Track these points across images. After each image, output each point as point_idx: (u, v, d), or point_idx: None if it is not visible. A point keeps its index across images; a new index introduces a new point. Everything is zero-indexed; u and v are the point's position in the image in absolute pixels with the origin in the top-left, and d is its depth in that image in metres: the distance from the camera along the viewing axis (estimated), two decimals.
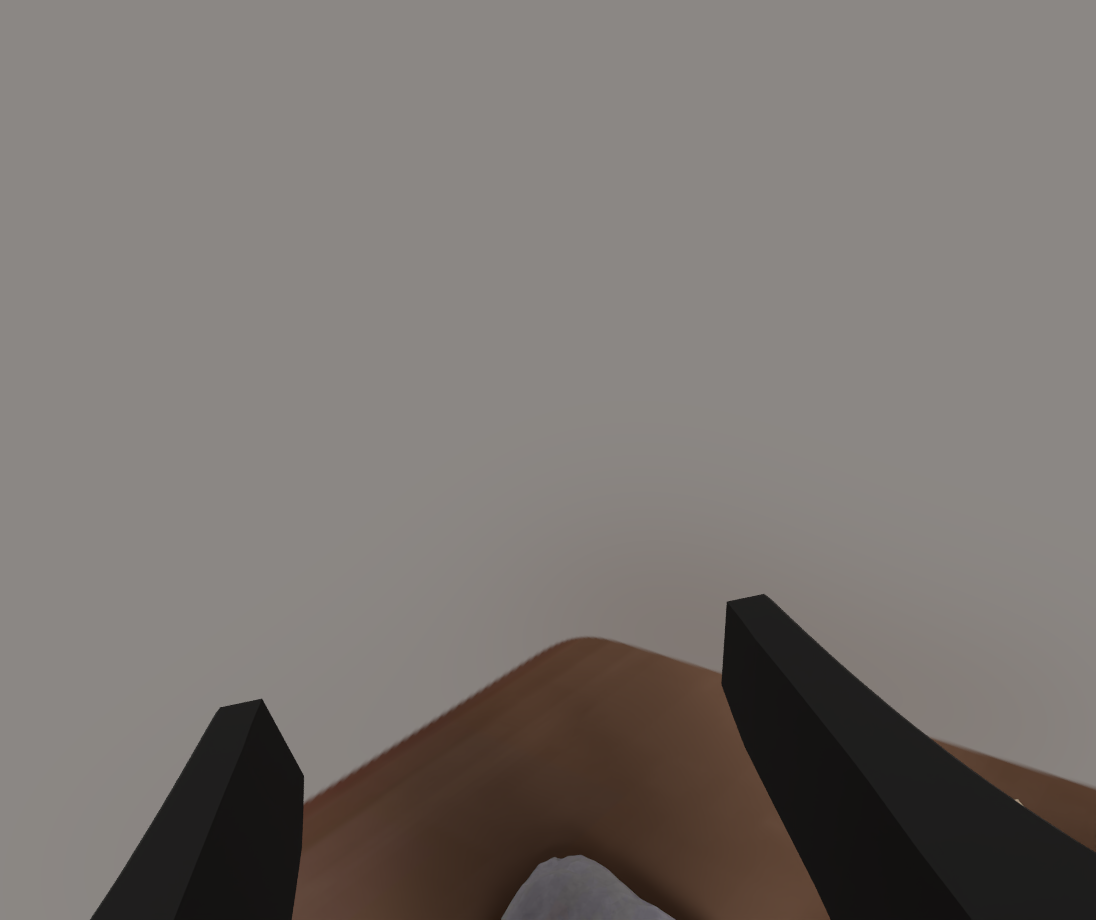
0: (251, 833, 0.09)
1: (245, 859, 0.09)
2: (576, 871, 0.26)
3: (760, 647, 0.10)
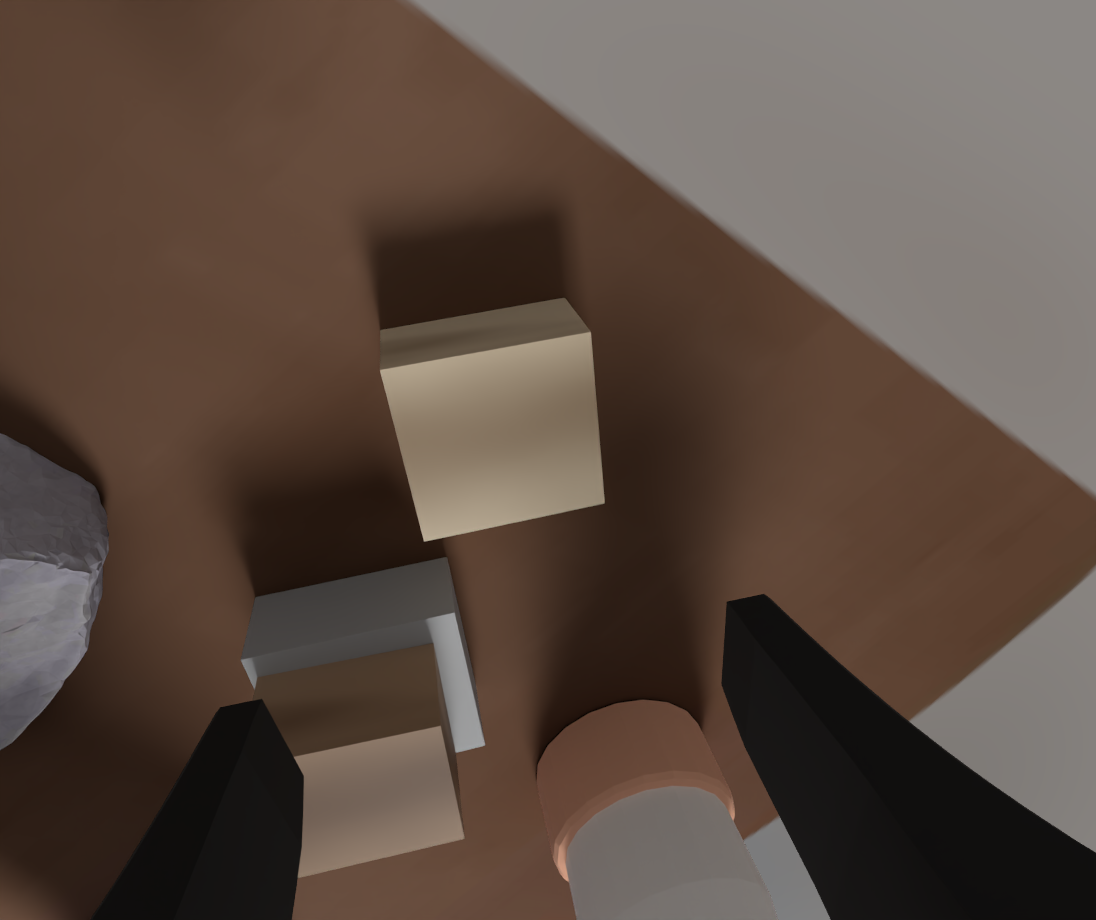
0: (251, 833, 0.09)
1: (244, 860, 0.09)
2: None
3: (760, 647, 0.10)
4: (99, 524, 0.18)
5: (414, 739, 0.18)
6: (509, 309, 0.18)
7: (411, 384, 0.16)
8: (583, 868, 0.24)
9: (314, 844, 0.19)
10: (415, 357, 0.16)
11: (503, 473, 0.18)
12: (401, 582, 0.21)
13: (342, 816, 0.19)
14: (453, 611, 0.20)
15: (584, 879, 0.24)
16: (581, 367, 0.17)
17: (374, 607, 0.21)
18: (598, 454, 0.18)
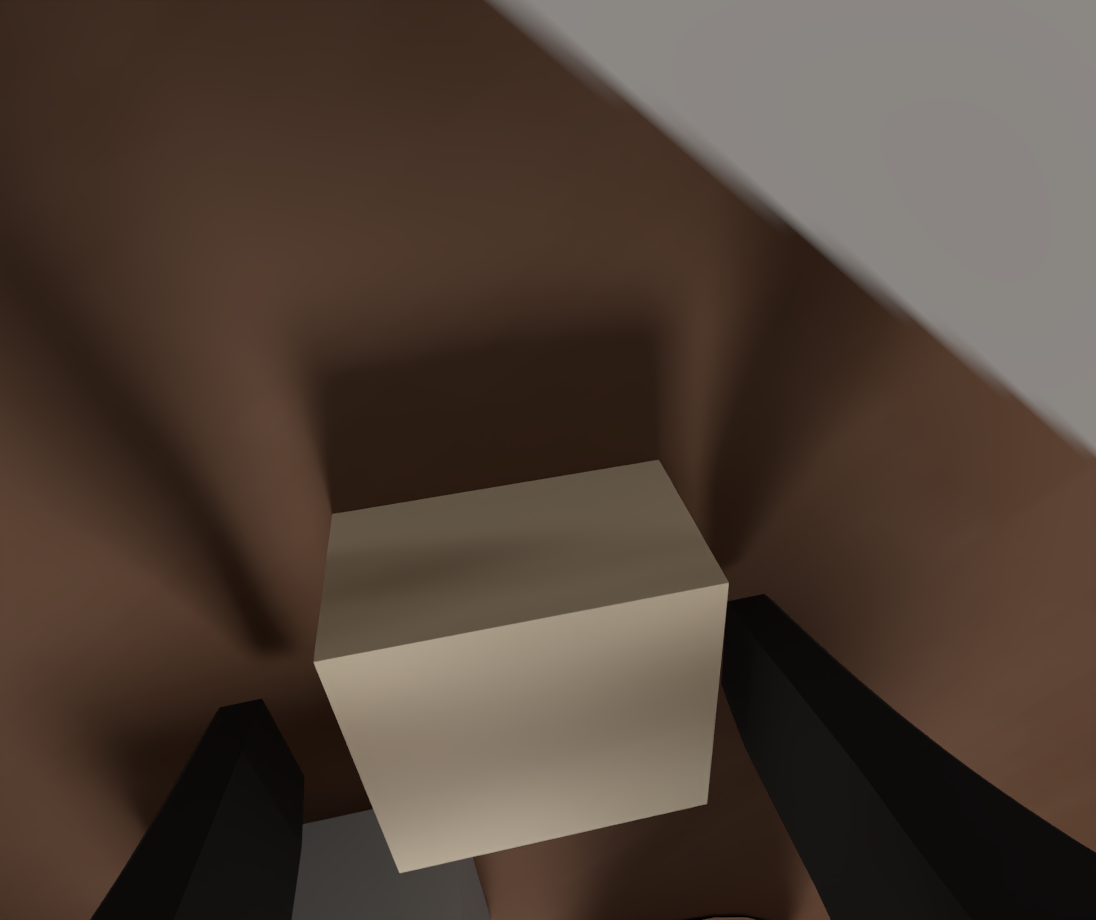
0: (251, 833, 0.09)
1: (245, 858, 0.09)
2: None
3: (760, 647, 0.10)
4: None
5: None
6: (562, 482, 0.10)
7: (376, 678, 0.08)
8: None
9: None
10: (386, 625, 0.08)
11: (541, 782, 0.10)
12: (381, 846, 0.14)
13: None
14: None
15: None
16: (701, 635, 0.09)
17: (336, 902, 0.13)
18: (708, 746, 0.10)
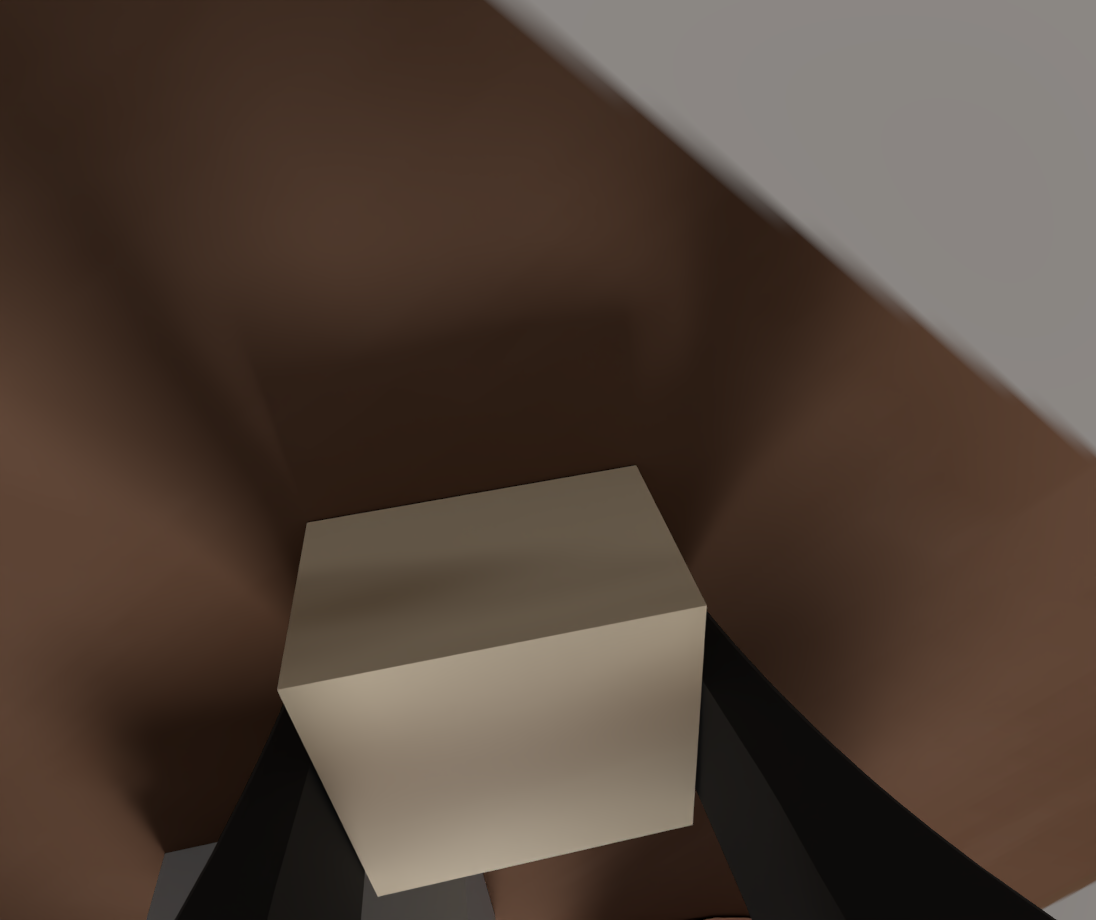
0: (329, 815, 0.09)
1: (325, 840, 0.09)
2: None
3: None
4: None
5: None
6: (541, 498, 0.10)
7: (344, 706, 0.08)
8: None
9: None
10: (353, 650, 0.08)
11: (520, 806, 0.10)
12: None
13: None
14: None
15: None
16: (680, 658, 0.09)
17: None
18: (692, 768, 0.10)
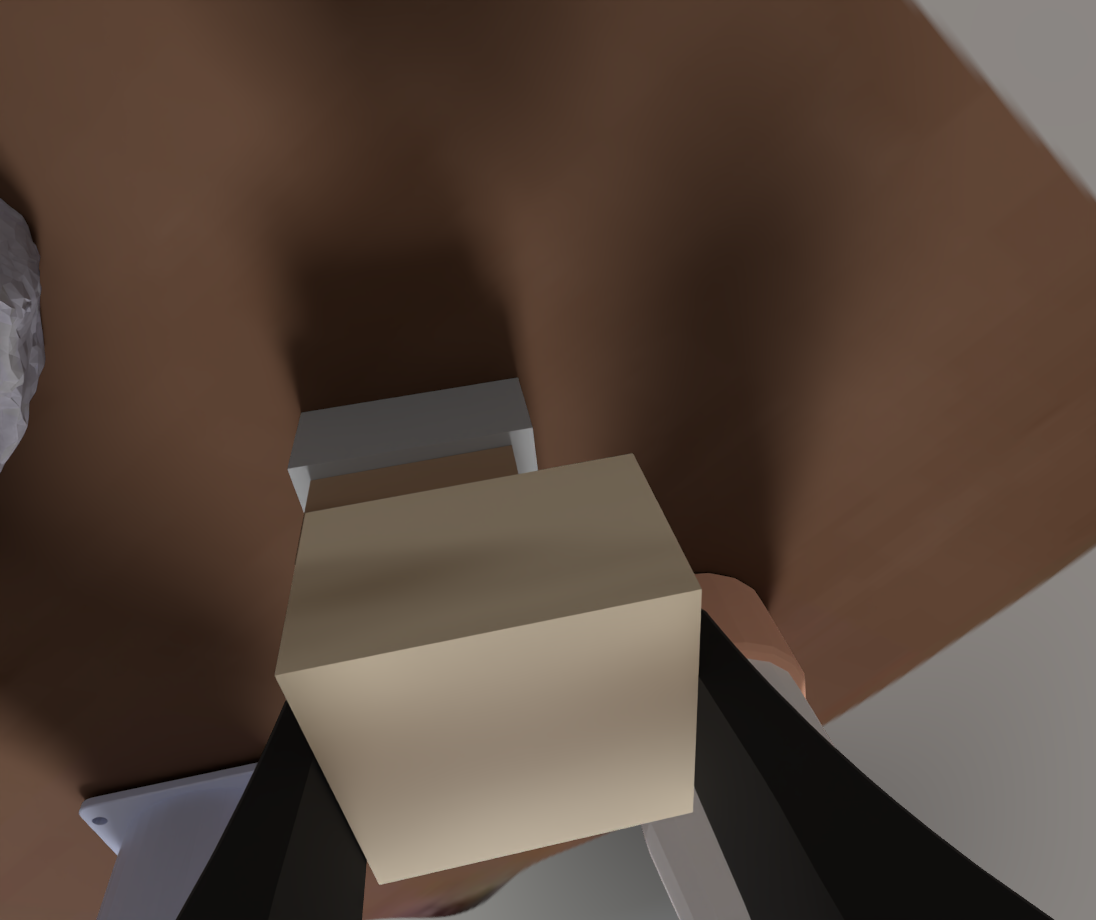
0: (330, 815, 0.09)
1: (326, 840, 0.09)
2: None
3: None
4: (26, 257, 0.15)
5: None
6: (537, 486, 0.10)
7: (341, 691, 0.08)
8: None
9: None
10: (350, 635, 0.08)
11: (520, 792, 0.10)
12: (467, 400, 0.19)
13: None
14: (530, 426, 0.17)
15: None
16: (676, 642, 0.09)
17: (438, 422, 0.18)
18: (691, 754, 0.10)
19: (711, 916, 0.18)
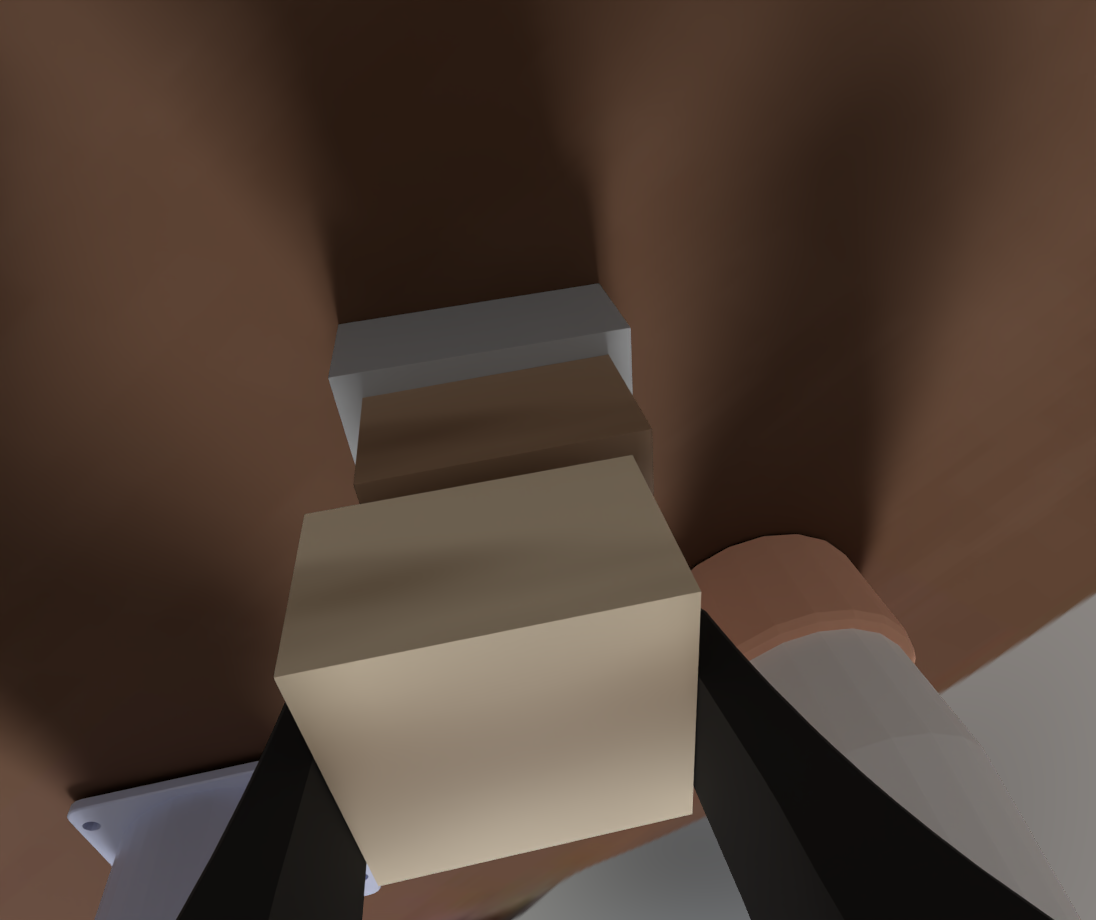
0: (330, 815, 0.09)
1: (326, 840, 0.09)
2: None
3: None
4: None
5: (611, 451, 0.12)
6: (537, 488, 0.10)
7: (340, 693, 0.08)
8: None
9: None
10: (349, 637, 0.08)
11: (518, 794, 0.10)
12: (542, 306, 0.15)
13: None
14: (628, 327, 0.14)
15: None
16: (676, 645, 0.09)
17: (510, 327, 0.14)
18: (690, 756, 0.10)
19: None
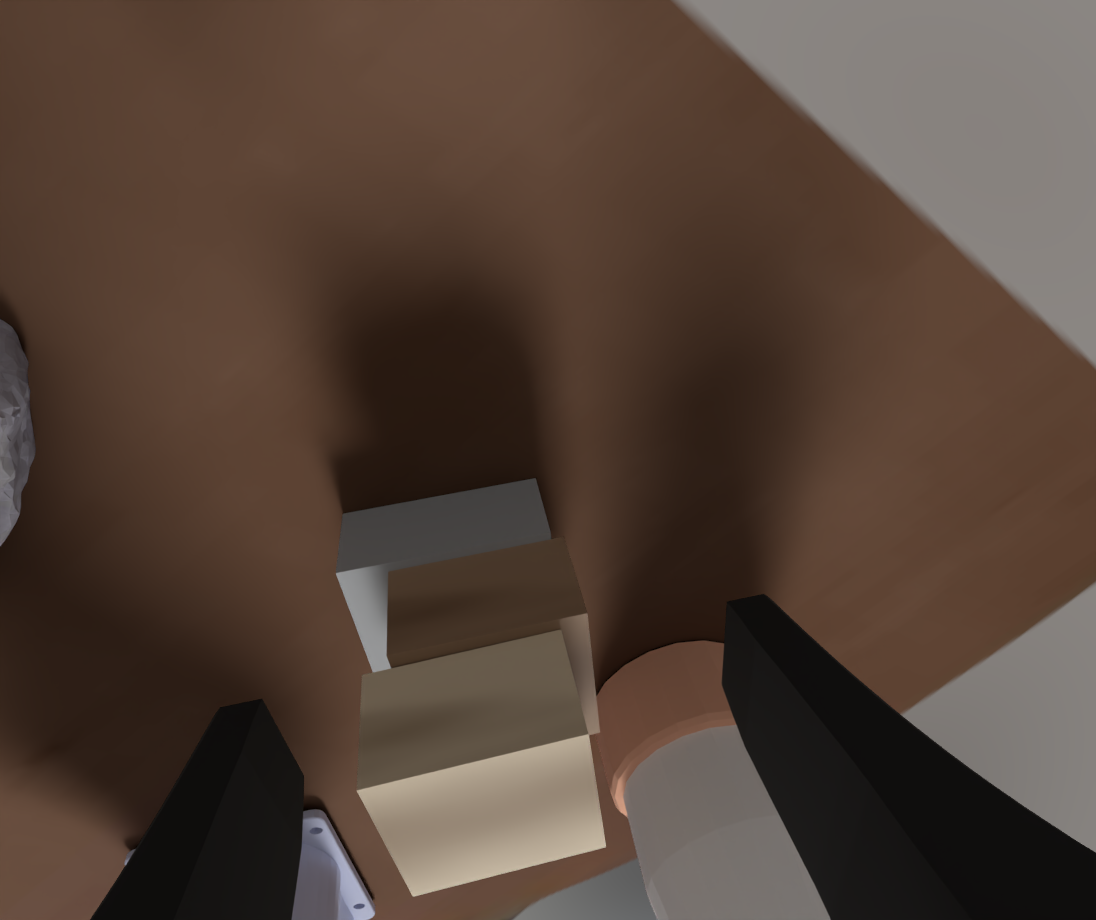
0: (251, 833, 0.09)
1: (245, 860, 0.09)
2: None
3: (760, 647, 0.10)
4: (15, 367, 0.16)
5: (560, 627, 0.17)
6: (502, 656, 0.17)
7: (391, 795, 0.15)
8: (644, 801, 0.24)
9: None
10: (395, 764, 0.15)
11: (495, 841, 0.17)
12: (491, 502, 0.21)
13: None
14: (549, 531, 0.20)
15: (646, 811, 0.24)
16: (578, 759, 0.15)
17: (466, 525, 0.20)
18: (598, 815, 0.17)
19: None
